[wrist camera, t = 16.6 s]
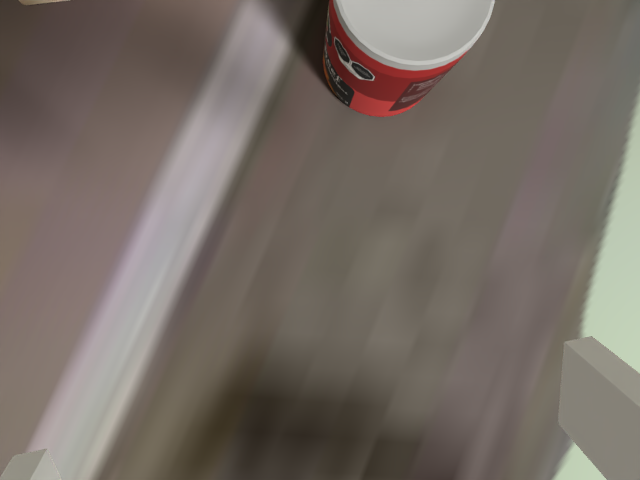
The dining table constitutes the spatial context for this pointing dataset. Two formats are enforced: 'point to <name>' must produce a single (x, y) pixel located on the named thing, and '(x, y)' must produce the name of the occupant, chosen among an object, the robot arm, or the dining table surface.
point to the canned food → (396, 48)
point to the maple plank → (38, 1)
